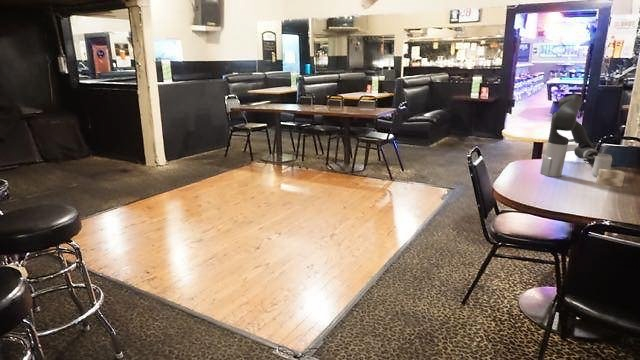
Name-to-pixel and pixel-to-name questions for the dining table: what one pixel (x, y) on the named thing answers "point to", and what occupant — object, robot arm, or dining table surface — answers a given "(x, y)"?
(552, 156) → the robot arm
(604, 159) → the can
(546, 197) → the dining table surface
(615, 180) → the block
